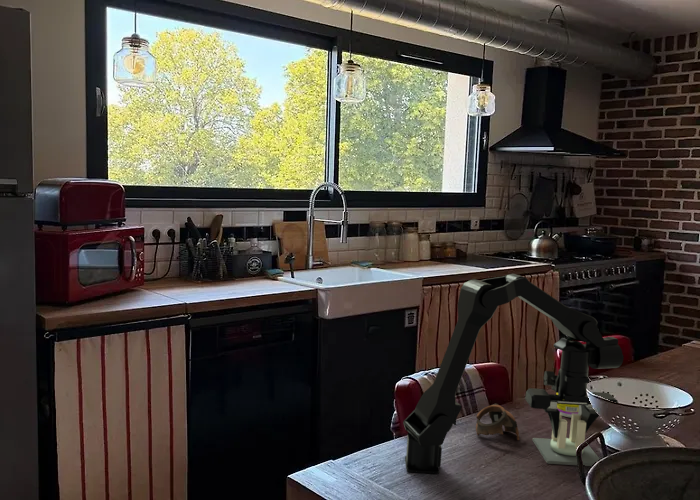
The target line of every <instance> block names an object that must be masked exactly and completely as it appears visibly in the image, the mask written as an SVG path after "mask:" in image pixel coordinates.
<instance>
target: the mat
mask: <svg viewBox="0 0 700 500" xmlns="http://www.w3.org/2000/svg"><path fill="white" fill-rule="evenodd" d="M551 439H552V438H543V437H542V438H541V437H532V442H533V443H534V445H535V446H536V448H537V450H538V451H539V453H540V455H541V456H542V457H543V460H544V461H545V462H546V464H549V465H551V464H552V465H564V466H565V465H567V466H568V465H569V466H578V465H577V459H576V456H569V455H563V454H560V453H557V452H555V451H554V450H552V449H551V447H550V443H551ZM599 459H600V457H599V456H598V455H597V453H596V452H595V451H594V450H593V449H592V448H591V446H590V445H589V444H588V446H587V447H585V448H584V453H583V454H582V461H583V465H585V467H593V466H592V465H593V464H594V463H595V462H597V461H598V460H599ZM600 460H601V459H600Z"/></svg>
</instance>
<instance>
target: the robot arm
mask: <svg viewBox="0 0 700 500" xmlns="http://www.w3.org/2000/svg"><path fill="white" fill-rule="evenodd" d="M516 298H519V299H520V300H522V301H523V302H525V303H527V304H528V305H529V306H531V307H532V308H534V309H536V310H537V311H539V312H540V313H542V314H543V315H545V316H546V317H548V318H549V319H550V320H551V321H552V323H553V325H554V326H555V327H556V328H557V329H558V330H559V332H561V333H562V334H563V335H565V336H568V337H570V338H573V339H575V340H569V339H567V338H565V337H561V338H560V339H559V340H557V342H554V344H553V348H555V349H558V350H560V351H561V360H560V368H559V369H558V372H557V375H556V374H555V371H551V370H545V371H544V373H543V385H544V386H549V387H550V386H551V391H554V392H555V394H553V393H552V394H550V393H549V392H548V391H547V390H546V389H545V388H536V387H535V388H532V387H531V388H529V387H528V389H527V390H525V391H526V392H525V401H526V402H527V404H528V405H529V407H530V408H532V409H534V410H535V409H536V410H537V409H538V410H543V411H544V412H545V413H547V416H548V418H549V421H550V427H551V430H553V434H554V437H555V438H557V436H558V428H559V416H560V411H559V410H558V409H557V404H570V405H581V411H582V414H581V416H580V420H582V421H585V422H586V431H585V435H586V433H588V431H589V429H590V428H591V426H592V425H593V424H594V422H595V421H596V420H597V419H598V417H600V416H599V415H598V414H597V413H596V412H595V410H594V409H593V408H592V405H591V403H590V401H589V398H588V397H589V396H588V395H587V389H588V387H587V386H588V384H590V379H591V378H589V367H590V368H591V369H594V370H597V369H598V370H601V369H617V368H620V367H621V366H622V365H623V362H624V357H625V356H624V354H623V350H622V348H621V346H620V345H619V339H618V338H616V337H614V336H607V337H603V335H602V333H601V331H600V330H599V328H598V323H599V322H598V321H597V319H596V318H595V317H593V316H592V315H589V314H586V313H585V312H582V311H579V310H576V309H574V308H571V307H569V306H567V305H565V304H563V303H562V302H561V301H559V300H558V299H556V298H554V297H553V296H552V295H550V294H549V293H548V292H545V291H544V290H543V289H542V288H539V287H538V286H537V285H535V284H534V283H532V282H530V280H529V279H528V278H527V277H525V276H522V275H519V274H515V273H510V274H506V275H503V276H497V277H491V278H485V279H481V280H479V279H475V278H474V279H470V280H468V281H465V282H464V283H463V284H462V286H461V288H460V290H459V296H458V300H457V321H456V324H455V326H454V329H453V332H452V334H451V337H450V340H449V343H448V344H447V347H446V350H445V353H444V355H443V357H442V361H441V363H440V366H439V369H438V372H437V373H436V376H435V379H434V382H433V383H432V384H431V386H429V387H428V388H427V389H426V390H425V391H424V392H423V393H422V395H421V397H420V399H419V400H418V401H417V404H416V406H415V409H413V411H412V412H411V413H410V414H409V415H407V416H406V418H405V419H404V420H403V426H404V430H405V431H406V432H408V433H407V439H406V455H405V456H404V461H405V462H404V463H405V469H406V472H408V473H418V474H419V473H421V474H437V475H438V474H439V473H440V470H439V468H440V467H442V465H441V464H442V453H443V451H442V450H443V448H442V445H443V444H444V441H445V439H446V437H447V434H448V433H449V432H450V431H451V429H452V427H453V425H454V426H456V425H457V418H458V415H459V414H460V413H461V411H462V405H461V404H460V403H458V402H457V400H456V393H457V390H458V389H459V388H458V387H459V385H460V383H461V380H462V378H463V375H464V372H465V369H466V367H467V366H468V365H467V364H468V362H469V358H470V357H471V354H472V351H473V349H474V346H475V344H476V340H477V338H478V336H479V333H480V331H481V329H482V328H483V326H485V325H486V324H487V323H488V321H490V320H491V319H492V318H493V316H494V314H495V312H496V311H497V309H498V307H499V306H503V305H505V304H509V303H510V302H512V301H513V300H514V299H516ZM583 343H585V344H583ZM556 393H558V395H556ZM592 394H595V395H598V396H601V397H603V398H605V399H608V400H610V401H613V402H616V403H619V401H618V400H617V398H615V397H614V396H613V395H612V394H611V393H610V392H601V391H600V392H598V391H597V392H596V391H593V392H592Z"/></svg>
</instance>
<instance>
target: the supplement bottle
mask: <svg viewBox="0 0 700 500" xmlns="http://www.w3.org/2000/svg"><path fill="white" fill-rule="evenodd" d="M555 395H558V393H556V392H555ZM557 409H558V410H559V411H560V413H561V414H562V417H566V418H571V416H572V414H579V415H580V417H581V415H582V411H581V405H570V404H557Z"/></svg>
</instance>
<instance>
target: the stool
mask: <svg viewBox="0 0 700 500" xmlns="http://www.w3.org/2000/svg"><path fill="white" fill-rule="evenodd" d="M562 417H563V416H562V414H561V413H560V416H559V428H558V436H557V438H555V437H554V434H553V430H552V429H551V430H552V431H551V438H550V439H551V443H550V447H551V449H552V450H554V451H555V452H557V453H560V454H563V455H569V456H576V449H577V447H578V446H579V445H580V444H581V443H583V442H584V441H586V440H585V439H586V434H585V431H586V422H585V421H582V420H581V416H580V415H579V414H572V416H571V417H570V418H571V419H570V427H569V437H567V434H568V433H567V431H568V420H567V419H563V418H562ZM583 453H584V449H583V450H582V454H583Z"/></svg>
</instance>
